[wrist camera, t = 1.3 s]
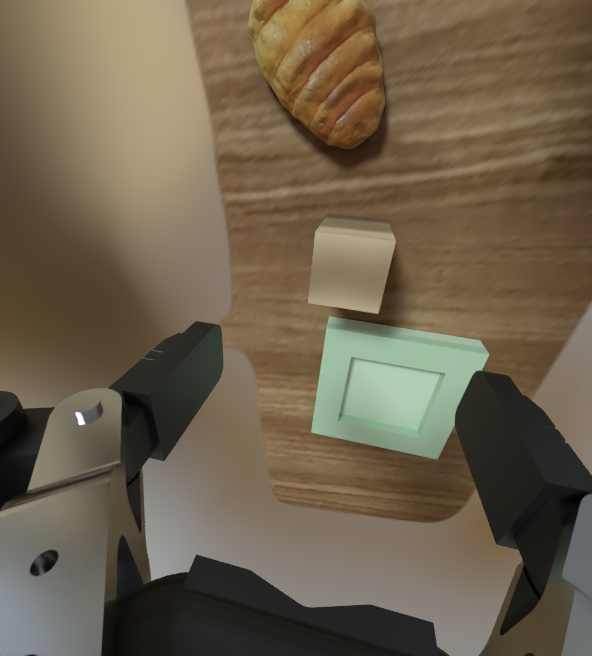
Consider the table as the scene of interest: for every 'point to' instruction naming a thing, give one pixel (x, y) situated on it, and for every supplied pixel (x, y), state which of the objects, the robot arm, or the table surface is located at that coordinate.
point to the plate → (393, 385)
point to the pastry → (322, 64)
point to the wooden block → (351, 262)
